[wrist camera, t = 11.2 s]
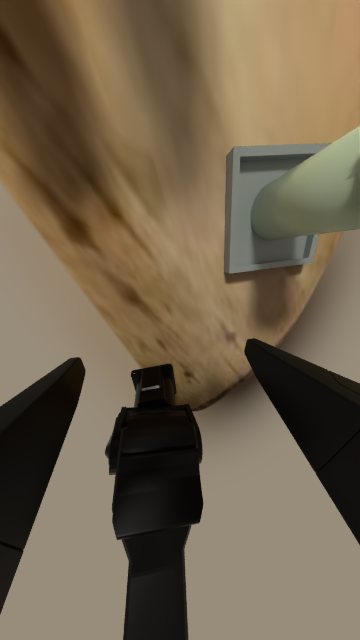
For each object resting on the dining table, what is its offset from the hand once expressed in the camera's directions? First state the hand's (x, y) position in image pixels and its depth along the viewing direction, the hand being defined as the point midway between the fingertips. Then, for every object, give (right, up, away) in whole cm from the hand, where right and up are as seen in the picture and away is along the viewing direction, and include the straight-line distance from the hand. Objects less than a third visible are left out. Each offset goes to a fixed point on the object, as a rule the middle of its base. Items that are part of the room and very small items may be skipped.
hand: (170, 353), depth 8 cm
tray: (+11, +14, +10) cm, 21 cm away
